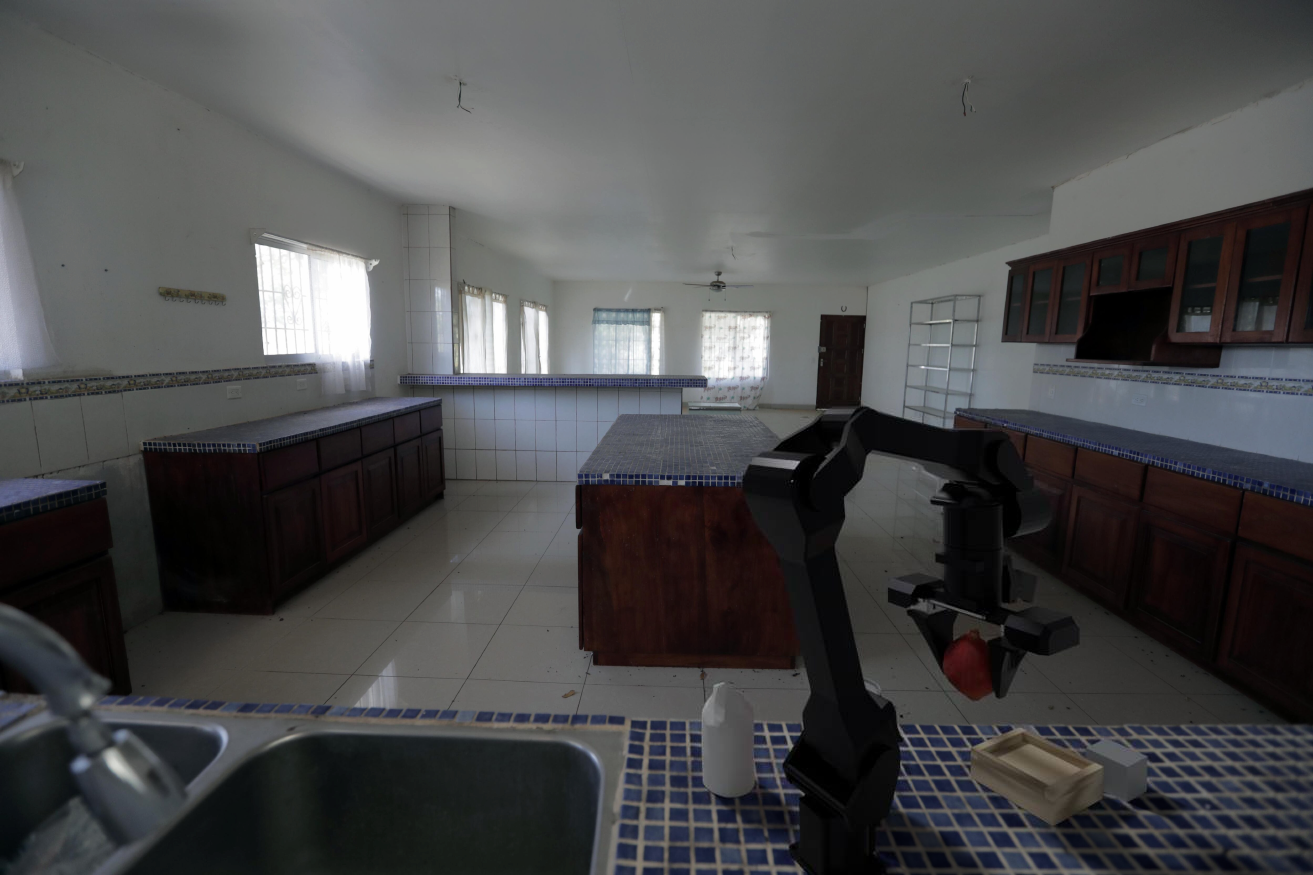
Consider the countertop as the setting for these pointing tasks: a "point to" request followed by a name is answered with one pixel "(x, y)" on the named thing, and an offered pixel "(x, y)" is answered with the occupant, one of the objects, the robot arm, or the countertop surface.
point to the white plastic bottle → (728, 743)
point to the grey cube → (1120, 769)
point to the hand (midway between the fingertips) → (973, 685)
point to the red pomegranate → (969, 666)
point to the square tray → (1037, 775)
